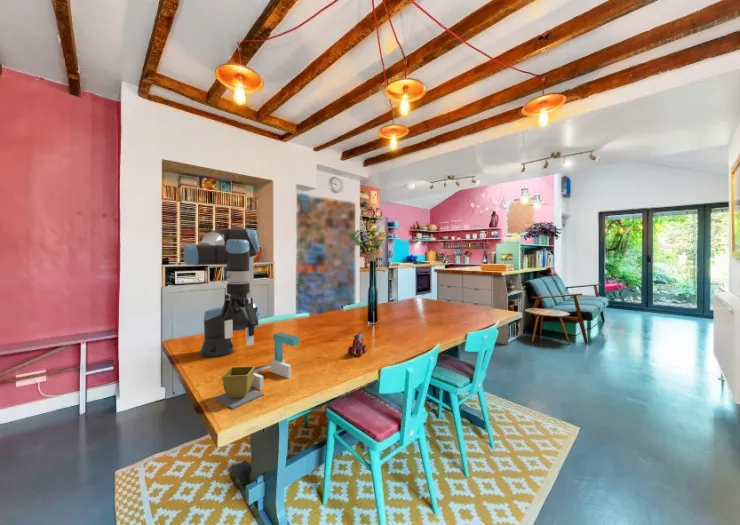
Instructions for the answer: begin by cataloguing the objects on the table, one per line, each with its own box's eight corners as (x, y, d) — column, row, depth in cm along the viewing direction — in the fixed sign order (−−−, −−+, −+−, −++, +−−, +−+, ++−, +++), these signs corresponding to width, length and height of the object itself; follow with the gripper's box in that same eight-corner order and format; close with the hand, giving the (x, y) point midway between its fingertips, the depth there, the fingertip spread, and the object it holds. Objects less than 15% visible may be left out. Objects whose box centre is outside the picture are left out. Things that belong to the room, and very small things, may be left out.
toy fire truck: (346, 356, 151) (346, 336, 151) (355, 349, 163) (355, 330, 162) (359, 358, 149) (359, 337, 148) (367, 350, 160) (367, 331, 160)
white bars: (234, 378, 124) (233, 366, 124) (282, 361, 144) (282, 350, 144) (260, 390, 114) (260, 377, 114) (308, 369, 134) (308, 358, 134)
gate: (273, 363, 140) (273, 334, 139) (280, 360, 143) (280, 332, 142) (292, 369, 132) (292, 339, 131) (299, 366, 135) (299, 337, 135)
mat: (214, 398, 107) (214, 397, 107) (245, 386, 117) (245, 385, 117) (232, 409, 100) (232, 407, 100) (263, 395, 110) (263, 393, 110)
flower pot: (231, 389, 113) (231, 366, 113) (255, 389, 114) (255, 365, 113) (221, 401, 104) (221, 376, 104) (247, 400, 105) (247, 375, 105)
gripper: (210, 281, 111) (210, 337, 112) (248, 286, 97) (249, 351, 98) (229, 279, 117) (230, 332, 118) (268, 284, 103) (269, 345, 104)
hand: (238, 341), depth 108 cm, fingers open, 13 cm apart
